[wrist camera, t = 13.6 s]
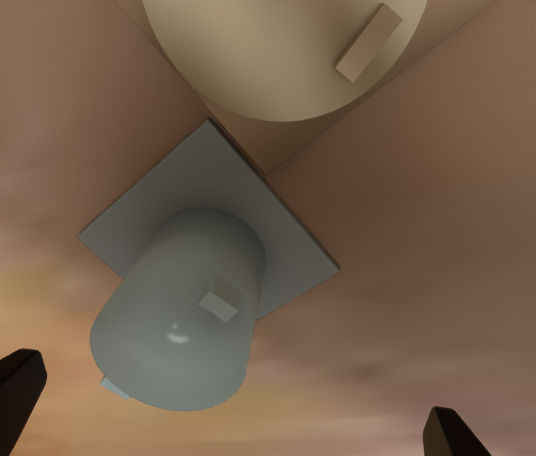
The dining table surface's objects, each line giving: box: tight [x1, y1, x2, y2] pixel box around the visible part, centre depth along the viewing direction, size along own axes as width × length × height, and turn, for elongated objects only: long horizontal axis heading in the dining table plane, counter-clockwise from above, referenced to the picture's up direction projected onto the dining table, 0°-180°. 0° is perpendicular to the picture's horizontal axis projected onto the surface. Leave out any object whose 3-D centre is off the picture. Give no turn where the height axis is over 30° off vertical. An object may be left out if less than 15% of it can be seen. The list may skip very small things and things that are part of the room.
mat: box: [76, 117, 340, 321], centre depth 22 cm, size 10×10×1 cm
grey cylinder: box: [90, 207, 266, 411], centre depth 19 cm, size 10×6×7 cm, turn 141°
